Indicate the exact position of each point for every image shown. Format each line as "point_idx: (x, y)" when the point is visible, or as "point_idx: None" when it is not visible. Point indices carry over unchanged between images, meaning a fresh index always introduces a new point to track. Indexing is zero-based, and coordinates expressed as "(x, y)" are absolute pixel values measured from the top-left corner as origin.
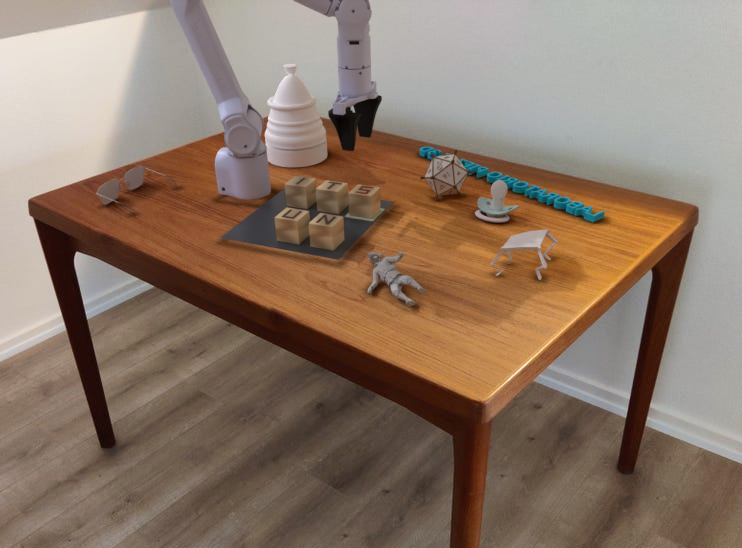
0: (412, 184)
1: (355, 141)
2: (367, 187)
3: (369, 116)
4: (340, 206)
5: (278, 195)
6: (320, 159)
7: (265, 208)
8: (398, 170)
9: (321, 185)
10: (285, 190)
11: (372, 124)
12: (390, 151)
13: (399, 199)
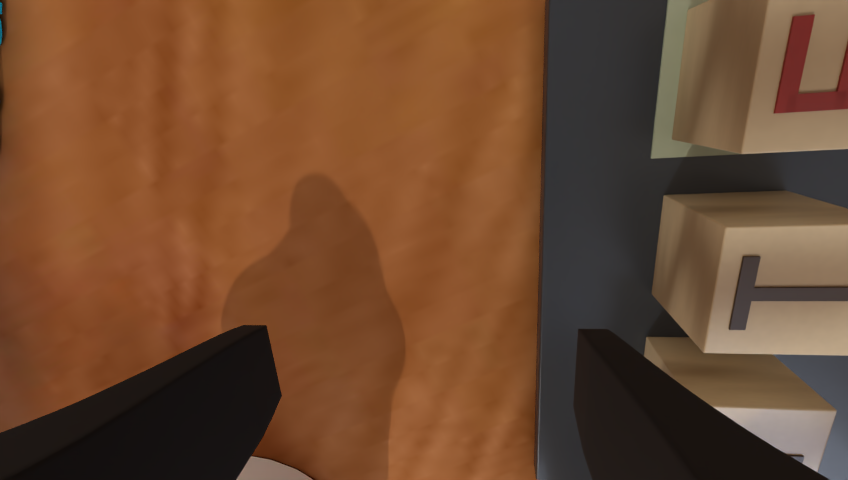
0: (266, 47)
1: (608, 360)
2: (803, 60)
3: (120, 463)
4: (783, 197)
5: None
6: (261, 466)
7: None
8: (172, 179)
9: (798, 346)
10: None
11: (173, 371)
12: (42, 288)
13: (451, 21)
